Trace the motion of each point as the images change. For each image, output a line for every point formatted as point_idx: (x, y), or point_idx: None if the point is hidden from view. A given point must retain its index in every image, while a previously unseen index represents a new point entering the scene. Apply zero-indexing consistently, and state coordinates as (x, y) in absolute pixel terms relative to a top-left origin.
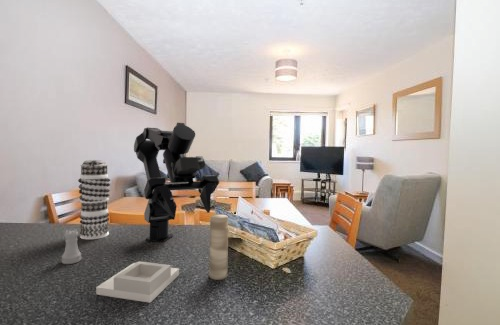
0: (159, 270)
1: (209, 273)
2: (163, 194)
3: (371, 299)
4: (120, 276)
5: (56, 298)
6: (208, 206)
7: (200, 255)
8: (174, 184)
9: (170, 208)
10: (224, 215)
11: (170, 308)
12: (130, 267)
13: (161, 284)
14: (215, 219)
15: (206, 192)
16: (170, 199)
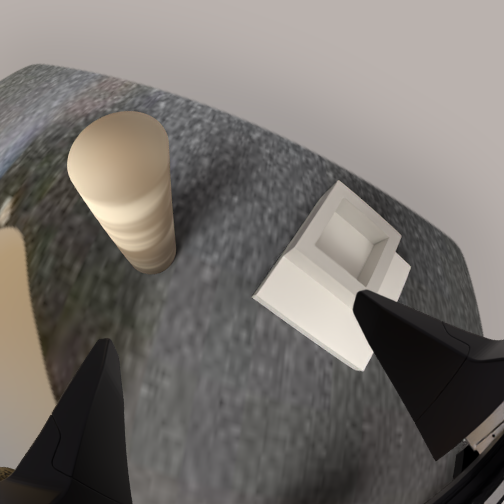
0: (322, 227)
1: (175, 250)
2: (494, 344)
3: (8, 94)
4: (392, 234)
5: (440, 280)
6: (99, 359)
7: (162, 411)
8: (479, 495)
9: (401, 304)
10: (76, 168)
11: (285, 166)
12: (382, 273)
13: (306, 221)
14: (157, 121)
15: (65, 475)
16: (439, 341)
